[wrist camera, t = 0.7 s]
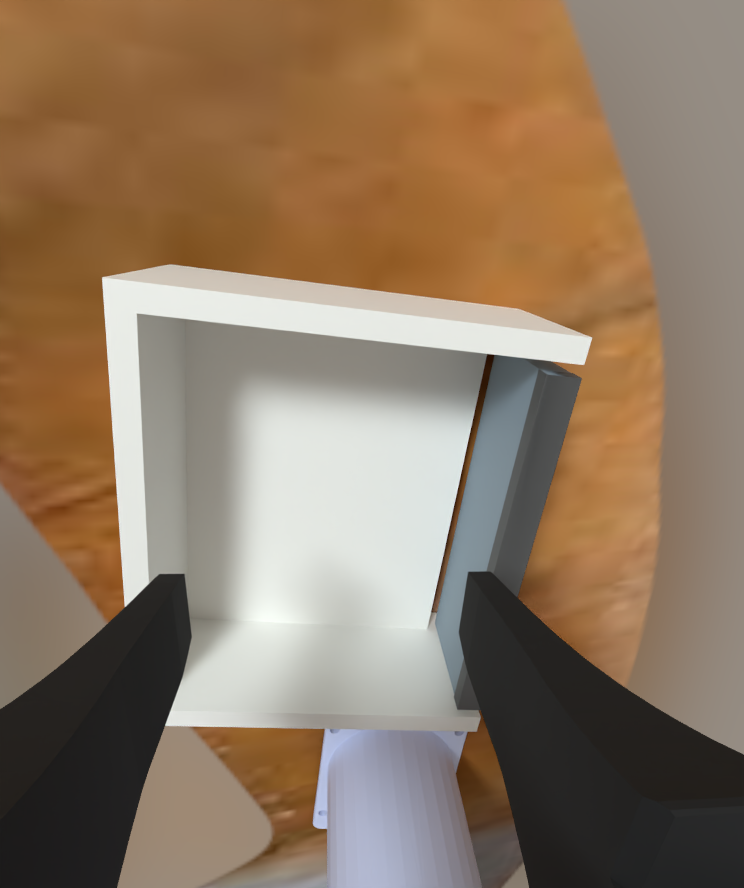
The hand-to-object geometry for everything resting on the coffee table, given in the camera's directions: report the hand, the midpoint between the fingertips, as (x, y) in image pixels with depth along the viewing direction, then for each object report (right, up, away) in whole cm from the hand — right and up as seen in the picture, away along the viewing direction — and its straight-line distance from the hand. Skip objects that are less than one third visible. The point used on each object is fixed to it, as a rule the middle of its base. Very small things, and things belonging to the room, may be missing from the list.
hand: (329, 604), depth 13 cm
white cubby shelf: (-1, +3, +9) cm, 10 cm away
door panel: (+6, +2, +9) cm, 11 cm away
